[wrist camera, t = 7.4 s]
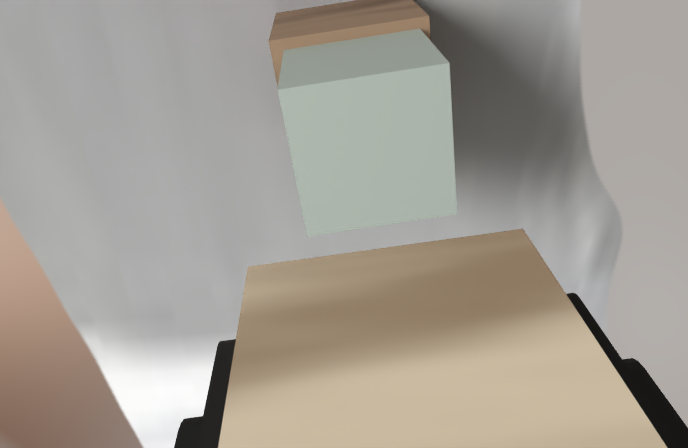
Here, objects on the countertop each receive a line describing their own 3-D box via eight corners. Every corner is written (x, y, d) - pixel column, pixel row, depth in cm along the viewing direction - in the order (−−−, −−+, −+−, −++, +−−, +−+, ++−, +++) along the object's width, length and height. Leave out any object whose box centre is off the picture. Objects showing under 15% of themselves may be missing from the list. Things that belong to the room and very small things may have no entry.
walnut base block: (276, 12, 31) (268, 41, 25) (405, -8, 31) (429, 15, 25) (299, 134, 34) (297, 185, 28) (415, 116, 34) (438, 163, 28)
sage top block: (283, 50, 25) (277, 89, 20) (419, 28, 25) (449, 62, 20) (307, 173, 28) (307, 236, 23) (429, 155, 28) (457, 214, 23)
